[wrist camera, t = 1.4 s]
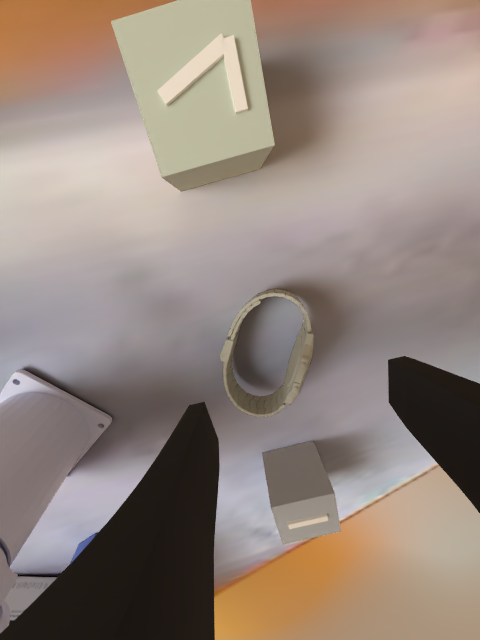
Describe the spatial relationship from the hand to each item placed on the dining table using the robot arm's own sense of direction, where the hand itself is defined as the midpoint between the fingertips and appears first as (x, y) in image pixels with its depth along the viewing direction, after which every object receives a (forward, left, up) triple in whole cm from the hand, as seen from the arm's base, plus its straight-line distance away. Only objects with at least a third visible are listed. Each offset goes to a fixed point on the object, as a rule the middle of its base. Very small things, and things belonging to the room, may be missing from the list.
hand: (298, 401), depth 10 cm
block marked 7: (+6, +10, -10) cm, 15 cm away
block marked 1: (-10, -13, -10) cm, 19 cm away
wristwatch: (-2, -1, -10) cm, 10 cm away
